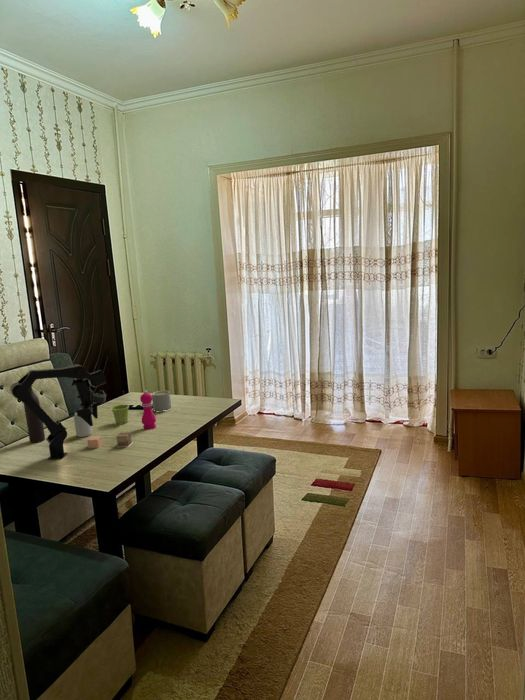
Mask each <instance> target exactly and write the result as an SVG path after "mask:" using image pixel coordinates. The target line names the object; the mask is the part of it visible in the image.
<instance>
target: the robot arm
mask: <svg viewBox="0 0 525 700" xmlns="http://www.w3.org/2000/svg"><path fill="white" fill-rule="evenodd" d="M56 378H70V379H71V381H70V383H69V386H75V389H76V392H77V396H76V397H77V399H79V400H80V404H79V408H78V409H77V410H76V412H75V413H77V416H79V417H81V418H82V419H83V420H84V421H86V422H87V423H88V424H89V425H90V426H91V427H93V425H94V423H93V418H94V419H95V420H96V419H98V417H99V416H98V415H99V414H98V406H99V405H100V404H102V405H103V404H105V403H106V400H107V393H106V392H105V391H104V390H103V389H102V390H101V389H100V390H99V392H94V390H93V389H91V387H93V388H98V387H100V386H102V385H105V384H107V379H106V377H105V375H104V373H103V371H102V370H101V369H99V370H97V371H94V372H91V373H90V372H88V371H86V368H85V367H84V366H82V365H81V364H78V363H77V364H72V365H67V366H64V367H58V368H57V367H56V368H47V369H43V368H42V369H31V370H28V372H26V374H25V375H24V376H22V377H21V378H20V379H19V380H18V381H16V382H14V383H12V384H11V385H10V386H9V387H10V388H9V391H10V393H11V394H12V396H14V397H15V398H16V399H17V400H19V401H20V402H22V403H23V404H24V403H25V404H26V405H27V406H28V407H29V408H30V409H31V410H32V411H33V412H34V414H35V415H36V416H37V417H38V418H39V419H40V420H41V421H42V422H43V425H45V427H46V428H47V430H48V432H49V434H48V436H47V438H46V441H47V443H48V450H49V455H50V456H49V457H47V460H61V459H63V458H65V456H67V455H68V452H65V449H64V448H65V447H64V442H65V439H67V437H68V431H67V430H68V429H67V428H66V427H65V426H64V424H63V423H62V422H61V421H60V420H59V419H57V420H56V421H54V419H52V418H51V417H50V416H49V414H48V413H47V412H46V411H45V410H44V409H43V408H42V407H41V405H40V406H39V405H38V404H37V403H36V402H35V401H34V400H33V398H32V396H31V395H30V393H29V391H28V389H29V388H30V387H31V385H32V386H33V384H34V383H35V381H37V380H43V379H56Z"/></svg>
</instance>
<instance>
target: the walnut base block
mask: <svg viewBox="0 0 525 700" xmlns="http://www.w3.org/2000/svg"><path fill="white" fill-rule="evenodd" d="M132 439H133V438H132V432H130V431H127V432H123V431H122V432H119V433H118V434H117V435H116V442H117V443H116V444H117V446H118V447H117V448H124V447H123V446H129V445H130V444H131V443H132V442H133V440H132ZM132 444H133V443H132ZM132 444H131V445H132ZM131 445H130V446H131ZM130 446H129V447H130Z"/></svg>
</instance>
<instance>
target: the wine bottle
mask: <svg viewBox="0 0 525 700" xmlns="http://www.w3.org/2000/svg"><path fill="white" fill-rule="evenodd" d="M28 391H29V393H30V395H31V396H32V398H33V400H34V401H35V402H36V403H37V404H38V405H39V406H40V407H41V403H40V400H39V397H38V396H37V394H36V393H35V392H34V390H33V384H32V385H31V387H30V388H29V389H28ZM23 409H24V413H25V414H24V415H25V419H26V427H27V433H28V439H29V442H30V443H32V444H35V443H41V442H43V441H45V440H46V436H45V434H46V433H45V429H44V423H43V422H42V421H41V420H40V419H39V418H38V417H37V416H36V415H35V414H34V412H33V411H32V410H31V409H30V408H29V407H28V406H27V405H26V404H25V403H23Z"/></svg>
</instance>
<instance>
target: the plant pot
mask: <svg viewBox="0 0 525 700" xmlns="http://www.w3.org/2000/svg"><path fill="white" fill-rule="evenodd" d="M129 408H130V404H118V405H114V406H112V407H110V409H111V411H112V413H113V416H114V421H115V424H116V423H117V424H116V425H123V424H122V423H124V424H126V423H128V422H129V421H128V419H129Z"/></svg>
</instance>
